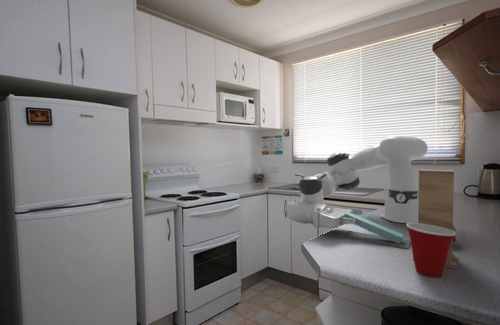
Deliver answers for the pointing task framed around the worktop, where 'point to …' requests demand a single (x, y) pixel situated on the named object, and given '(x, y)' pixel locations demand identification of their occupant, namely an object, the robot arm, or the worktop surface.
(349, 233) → the mat
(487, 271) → the worktop surface
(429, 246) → the plastic cup
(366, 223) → the block
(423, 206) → the stand
